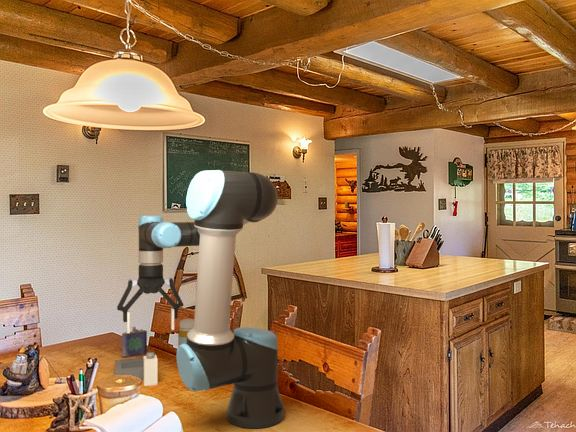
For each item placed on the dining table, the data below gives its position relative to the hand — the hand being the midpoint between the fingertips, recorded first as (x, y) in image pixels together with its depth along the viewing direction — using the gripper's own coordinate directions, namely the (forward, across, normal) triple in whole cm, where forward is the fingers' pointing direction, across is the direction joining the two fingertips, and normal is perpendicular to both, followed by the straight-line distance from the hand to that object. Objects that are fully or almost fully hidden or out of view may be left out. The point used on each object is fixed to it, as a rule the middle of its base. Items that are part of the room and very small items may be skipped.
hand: (150, 330), depth 158 cm
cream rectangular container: (+17, 0, 0) cm, 17 cm away
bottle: (+17, -14, -18) cm, 28 cm away
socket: (+16, +4, -11) cm, 20 cm away
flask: (+17, +4, -33) cm, 37 cm away
